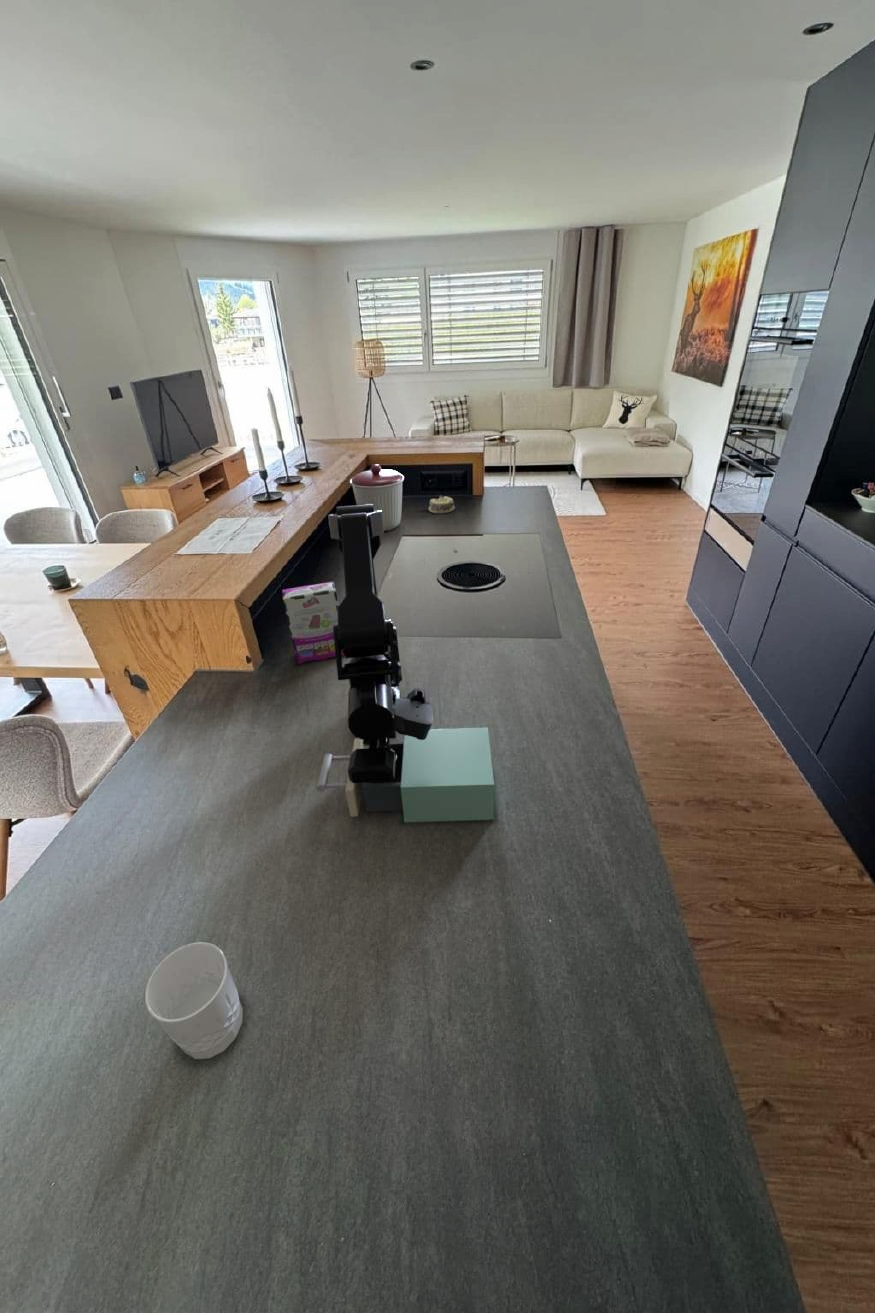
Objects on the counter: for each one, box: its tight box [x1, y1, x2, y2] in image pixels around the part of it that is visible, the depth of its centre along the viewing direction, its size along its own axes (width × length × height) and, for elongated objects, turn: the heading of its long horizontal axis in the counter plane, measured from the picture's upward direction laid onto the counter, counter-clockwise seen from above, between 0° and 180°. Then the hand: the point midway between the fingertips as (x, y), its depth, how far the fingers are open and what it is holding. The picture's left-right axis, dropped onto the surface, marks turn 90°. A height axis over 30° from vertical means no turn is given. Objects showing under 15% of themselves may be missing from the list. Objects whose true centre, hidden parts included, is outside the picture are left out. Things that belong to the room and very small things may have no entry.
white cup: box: [144, 941, 244, 1060], centre depth 59 cm, size 8×8×10 cm
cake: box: [427, 494, 456, 514], centre depth 204 cm, size 10×10×5 cm
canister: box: [349, 463, 405, 532], centre depth 187 cm, size 18×18×21 cm
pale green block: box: [401, 727, 495, 823], centre depth 88 cm, size 14×13×8 cm
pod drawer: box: [316, 738, 404, 818], centre depth 88 cm, size 17×11×6 cm, turn 90°
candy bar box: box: [282, 581, 345, 665], centre depth 121 cm, size 11×5×16 cm, turn 105°
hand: (382, 771), depth 88 cm, fingers closed on coffee pod, 4 cm apart
